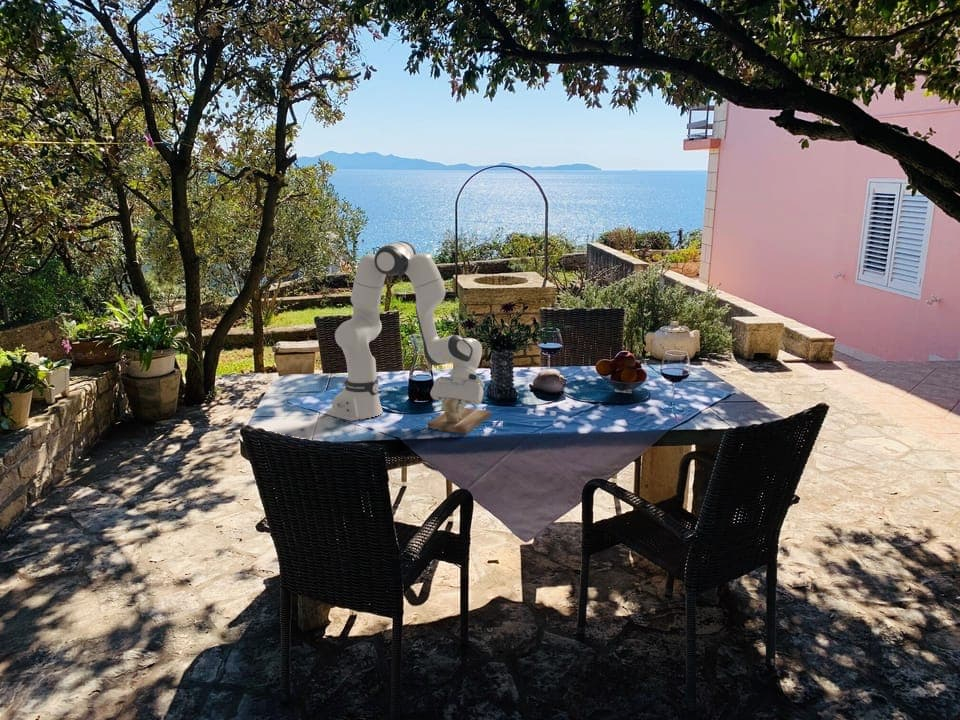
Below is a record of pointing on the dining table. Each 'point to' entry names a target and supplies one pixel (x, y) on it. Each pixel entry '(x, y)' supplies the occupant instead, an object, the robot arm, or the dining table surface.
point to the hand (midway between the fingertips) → (450, 411)
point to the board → (461, 421)
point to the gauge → (451, 410)
